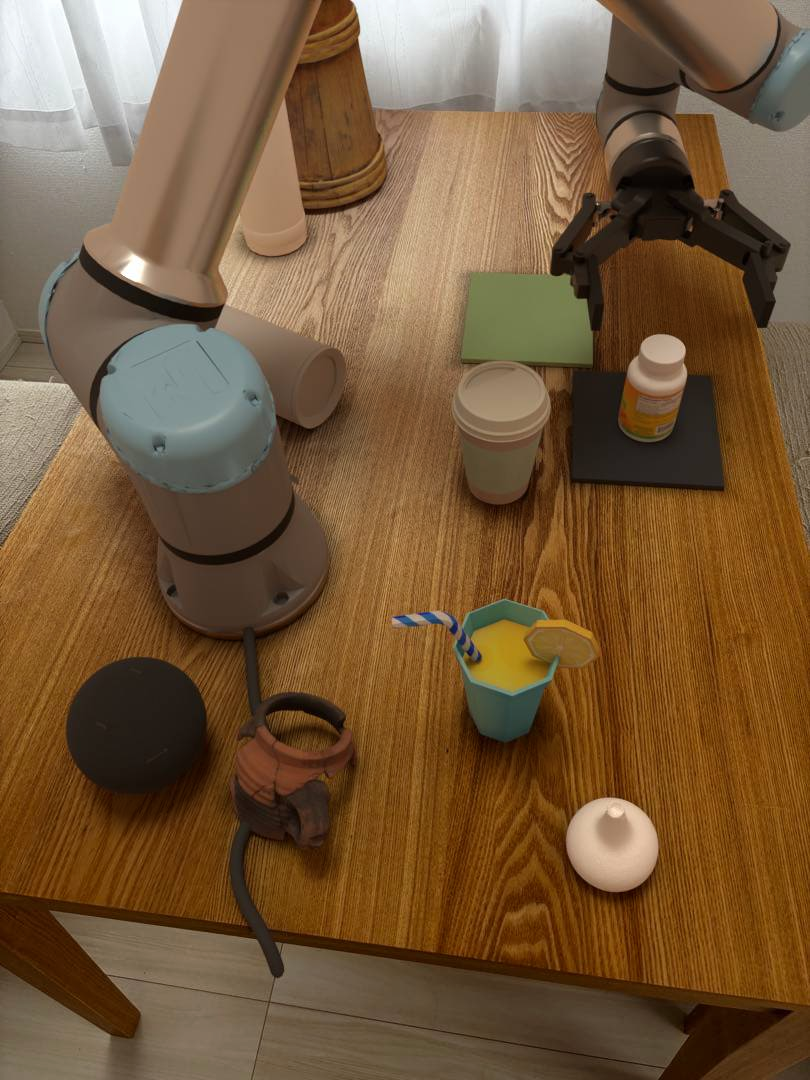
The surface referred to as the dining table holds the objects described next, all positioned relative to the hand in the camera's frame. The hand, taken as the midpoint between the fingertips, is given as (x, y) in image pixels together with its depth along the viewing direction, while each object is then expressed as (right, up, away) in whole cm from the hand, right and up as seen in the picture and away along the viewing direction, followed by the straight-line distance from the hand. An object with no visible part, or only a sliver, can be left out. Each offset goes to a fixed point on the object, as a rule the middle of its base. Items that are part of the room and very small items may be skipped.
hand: (681, 316), depth 71 cm
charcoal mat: (+1, -7, +15) cm, 17 cm away
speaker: (-42, -35, -2) cm, 55 cm away
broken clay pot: (-31, -38, -5) cm, 49 cm away
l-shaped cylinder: (-39, -4, +21) cm, 45 cm away
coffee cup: (-14, -13, +12) cm, 22 cm away
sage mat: (-9, +6, +26) cm, 28 cm away
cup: (-16, -32, -2) cm, 36 cm away
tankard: (-34, +33, +48) cm, 67 cm away
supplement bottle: (+1, -7, +15) cm, 16 cm away
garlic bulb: (-8, -41, -9) cm, 42 cm away
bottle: (-39, +20, +38) cm, 58 cm away
